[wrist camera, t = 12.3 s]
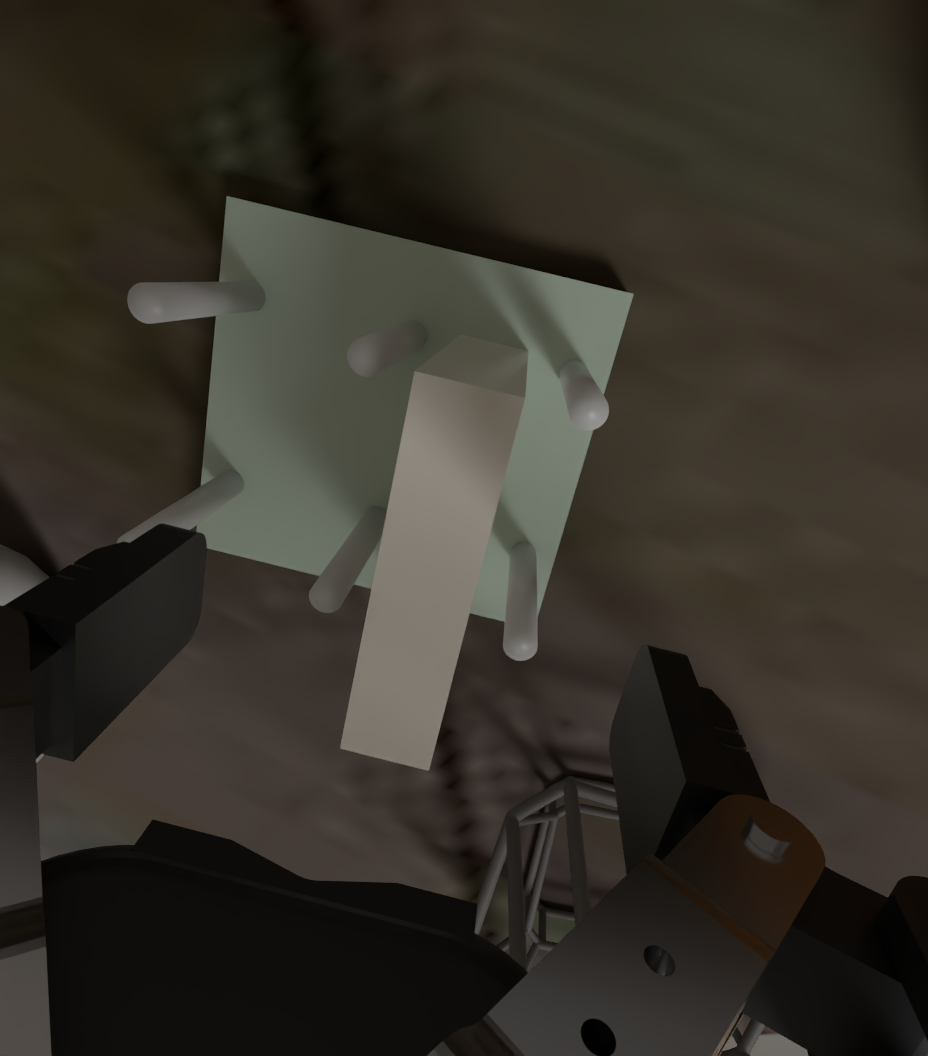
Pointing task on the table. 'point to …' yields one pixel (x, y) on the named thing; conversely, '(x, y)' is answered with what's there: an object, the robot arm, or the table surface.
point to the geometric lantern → (511, 847)
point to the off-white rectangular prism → (433, 545)
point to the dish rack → (377, 397)
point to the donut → (17, 578)
